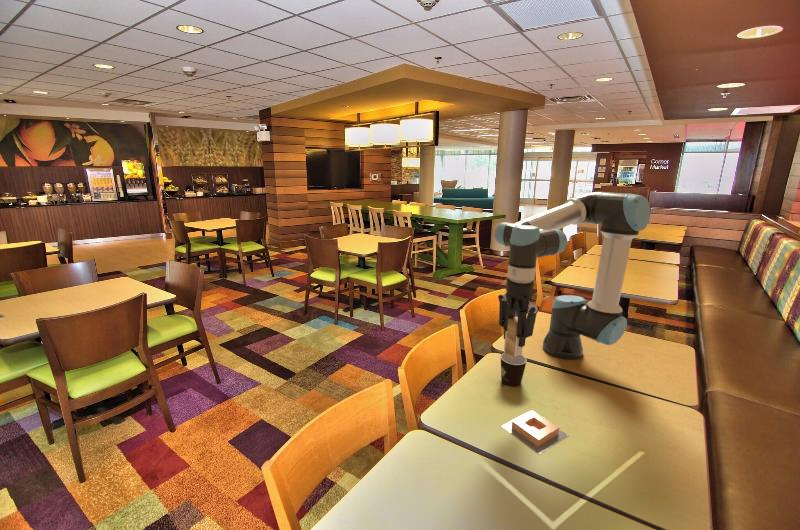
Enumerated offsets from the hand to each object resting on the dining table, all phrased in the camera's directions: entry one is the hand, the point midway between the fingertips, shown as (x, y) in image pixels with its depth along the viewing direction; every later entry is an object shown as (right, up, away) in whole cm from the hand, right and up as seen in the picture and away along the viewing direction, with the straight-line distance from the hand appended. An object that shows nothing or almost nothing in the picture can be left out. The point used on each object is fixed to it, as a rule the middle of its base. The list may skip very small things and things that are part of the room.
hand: (512, 352), depth 114 cm
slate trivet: (+4, -21, -8) cm, 23 cm away
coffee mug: (+4, -15, +18) cm, 23 cm away
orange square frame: (+4, -20, -8) cm, 22 cm away
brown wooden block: (0, -1, 0) cm, 1 cm away
